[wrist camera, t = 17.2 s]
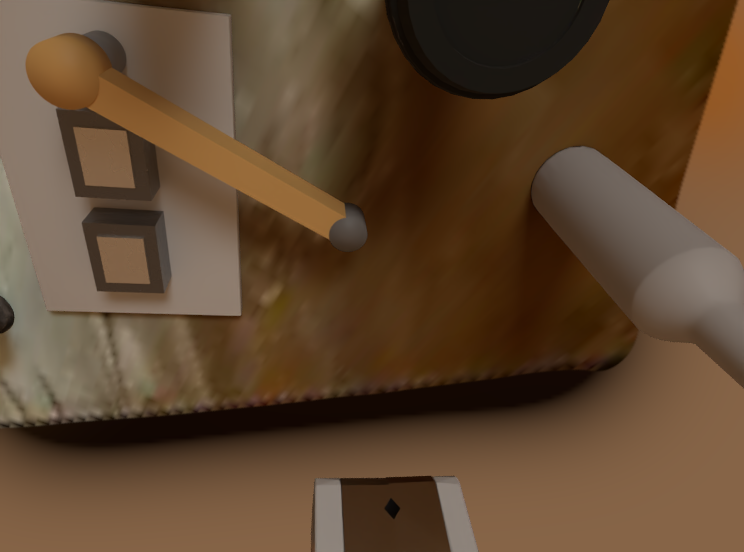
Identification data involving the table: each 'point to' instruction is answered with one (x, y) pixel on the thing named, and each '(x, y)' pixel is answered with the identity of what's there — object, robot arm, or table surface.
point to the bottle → (645, 255)
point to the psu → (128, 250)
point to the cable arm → (184, 135)
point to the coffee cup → (491, 41)
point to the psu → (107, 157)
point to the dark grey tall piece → (5, 315)
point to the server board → (177, 177)
